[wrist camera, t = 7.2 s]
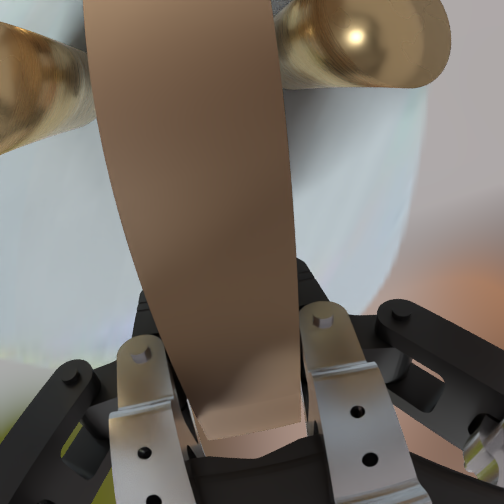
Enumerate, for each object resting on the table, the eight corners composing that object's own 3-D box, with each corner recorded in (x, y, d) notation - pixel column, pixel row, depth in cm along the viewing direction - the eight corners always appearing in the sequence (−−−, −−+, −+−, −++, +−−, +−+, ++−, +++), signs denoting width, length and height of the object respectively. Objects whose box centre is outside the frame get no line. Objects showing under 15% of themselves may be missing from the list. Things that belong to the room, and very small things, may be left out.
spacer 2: (256, 92, 14) (335, 85, 6) (248, 19, 12) (314, -59, 4) (331, 88, 14) (455, 94, 7) (323, 19, 13) (439, -27, 5)
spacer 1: (47, 138, 13) (-66, 188, 5) (37, 68, 11) (-81, 62, 3) (116, 117, 13) (31, 140, 5) (106, 43, 11) (19, -8, 4)
